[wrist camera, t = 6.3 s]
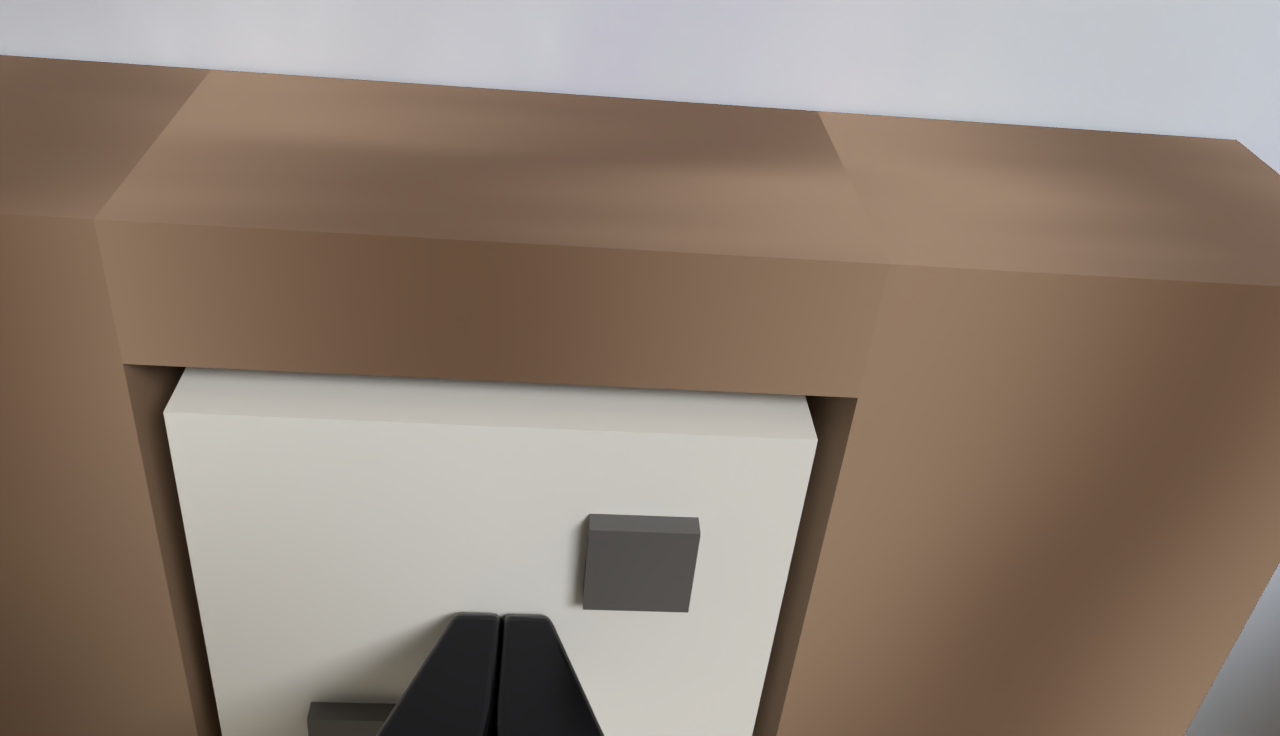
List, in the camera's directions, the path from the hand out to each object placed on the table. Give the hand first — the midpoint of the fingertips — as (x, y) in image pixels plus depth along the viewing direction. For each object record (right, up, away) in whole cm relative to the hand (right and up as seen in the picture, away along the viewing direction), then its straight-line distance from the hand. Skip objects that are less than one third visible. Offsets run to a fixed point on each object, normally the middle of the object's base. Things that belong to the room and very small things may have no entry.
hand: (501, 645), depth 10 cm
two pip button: (0, +2, +2) cm, 3 cm away
